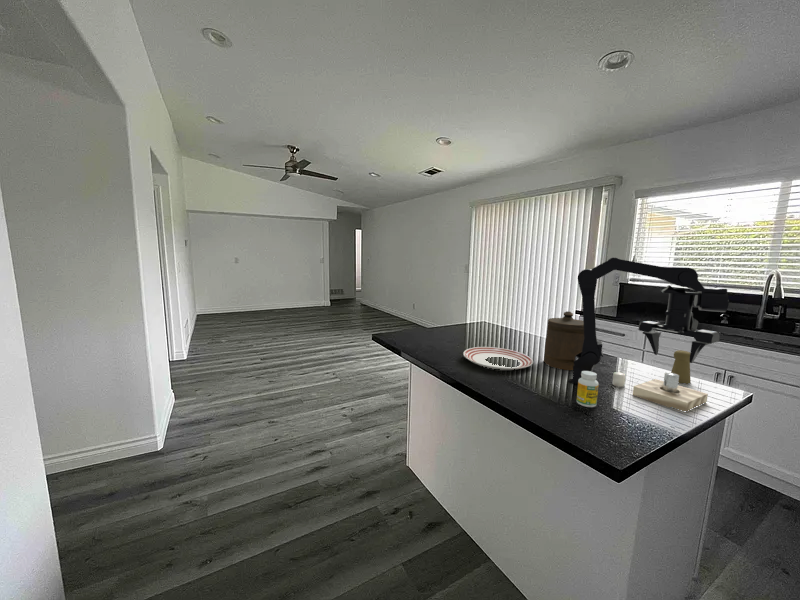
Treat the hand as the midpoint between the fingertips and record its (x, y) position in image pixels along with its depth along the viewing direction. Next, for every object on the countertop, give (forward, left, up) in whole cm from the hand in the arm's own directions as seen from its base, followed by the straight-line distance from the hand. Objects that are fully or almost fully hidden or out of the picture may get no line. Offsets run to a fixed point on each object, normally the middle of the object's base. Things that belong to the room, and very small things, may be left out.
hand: (672, 358), depth 106 cm
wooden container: (+1, +37, -13) cm, 39 cm away
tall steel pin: (0, 0, -13) cm, 13 cm away
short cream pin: (-2, +14, -13) cm, 19 cm away
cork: (+23, +6, -13) cm, 27 cm away
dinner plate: (-22, +51, -13) cm, 57 cm away
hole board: (0, 0, -13) cm, 13 cm away
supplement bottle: (-27, +10, -13) cm, 32 cm away
